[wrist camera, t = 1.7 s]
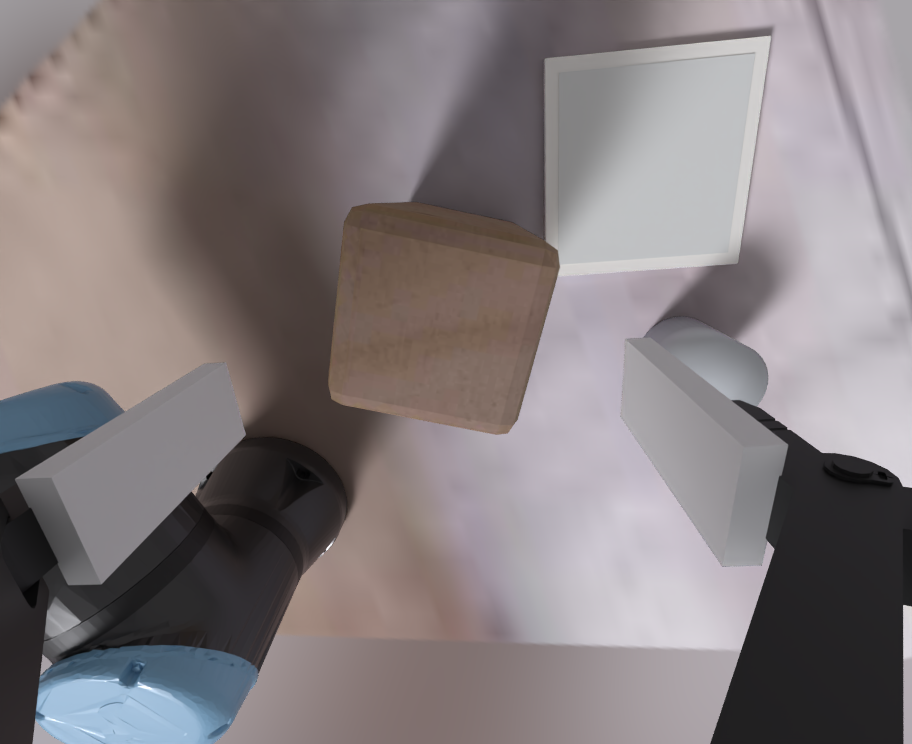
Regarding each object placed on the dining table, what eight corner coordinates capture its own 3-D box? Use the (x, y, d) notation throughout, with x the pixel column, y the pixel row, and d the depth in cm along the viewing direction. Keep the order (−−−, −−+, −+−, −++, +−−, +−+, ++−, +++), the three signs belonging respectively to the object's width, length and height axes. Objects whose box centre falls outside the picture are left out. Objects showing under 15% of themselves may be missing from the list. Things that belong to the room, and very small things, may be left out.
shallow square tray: (544, 275, 39) (546, 277, 38) (543, 61, 34) (545, 57, 33) (732, 262, 38) (738, 263, 37) (764, 39, 33) (772, 35, 32)
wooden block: (406, 199, 37) (340, 198, 19) (522, 224, 38) (570, 247, 19) (389, 313, 41) (320, 408, 22) (495, 335, 41) (514, 446, 23)
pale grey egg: (634, 389, 43) (668, 429, 35) (639, 319, 40) (677, 346, 33) (709, 385, 42) (759, 425, 35) (719, 313, 40) (775, 340, 32)
